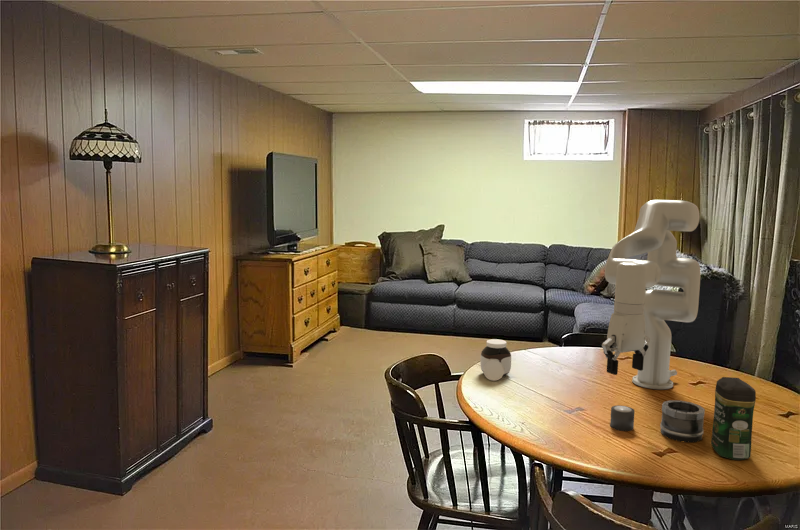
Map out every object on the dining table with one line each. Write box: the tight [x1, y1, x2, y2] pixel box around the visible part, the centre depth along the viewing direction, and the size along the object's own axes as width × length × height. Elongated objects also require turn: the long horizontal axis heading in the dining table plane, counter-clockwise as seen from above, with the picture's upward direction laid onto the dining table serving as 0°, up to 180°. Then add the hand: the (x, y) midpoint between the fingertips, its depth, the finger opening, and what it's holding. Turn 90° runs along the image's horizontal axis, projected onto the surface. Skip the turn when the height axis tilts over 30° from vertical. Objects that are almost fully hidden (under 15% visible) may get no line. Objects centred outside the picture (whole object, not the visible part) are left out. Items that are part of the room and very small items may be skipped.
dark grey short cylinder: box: [609, 404, 635, 432], centre depth 167 cm, size 6×6×5 cm
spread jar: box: [479, 338, 512, 382], centre depth 209 cm, size 12×11×12 cm
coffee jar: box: [710, 376, 757, 461], centre depth 151 cm, size 10×8×19 cm
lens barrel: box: [659, 399, 706, 443], centre depth 162 cm, size 10×10×8 cm
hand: (624, 371), depth 165 cm, fingers open, 9 cm apart
